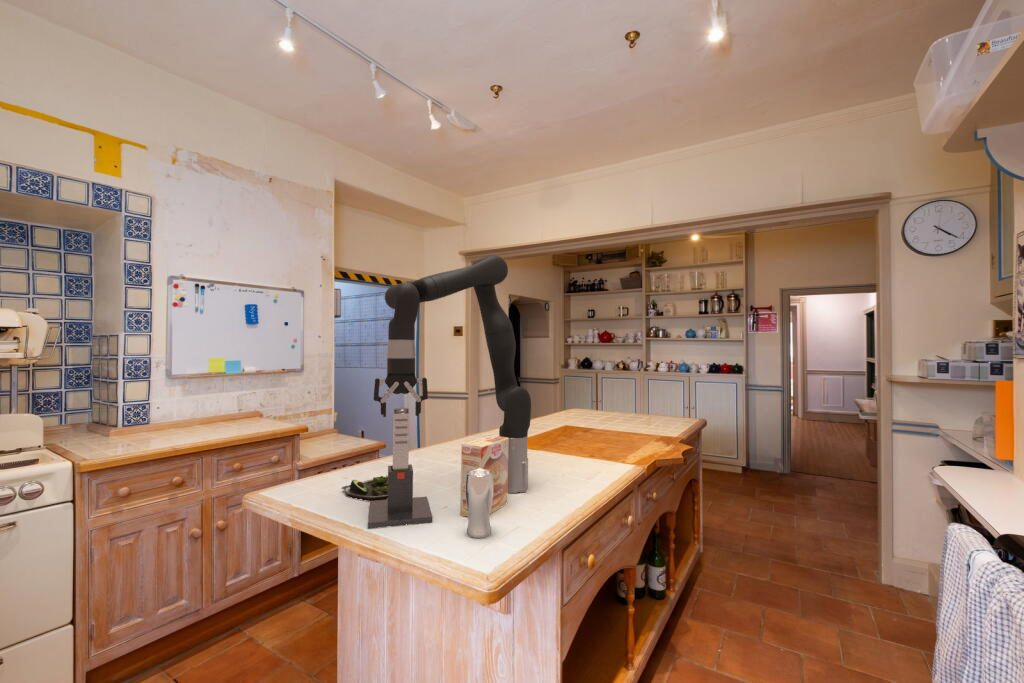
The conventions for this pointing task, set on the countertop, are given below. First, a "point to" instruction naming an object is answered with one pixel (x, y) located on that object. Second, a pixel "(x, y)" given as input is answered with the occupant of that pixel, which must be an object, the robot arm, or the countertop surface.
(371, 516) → the stand
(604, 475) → the countertop surface
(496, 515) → the countertop surface
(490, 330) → the robot arm
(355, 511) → the countertop surface
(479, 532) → the beer glass
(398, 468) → the column
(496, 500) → the coffeecake box
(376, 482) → the salad plate
